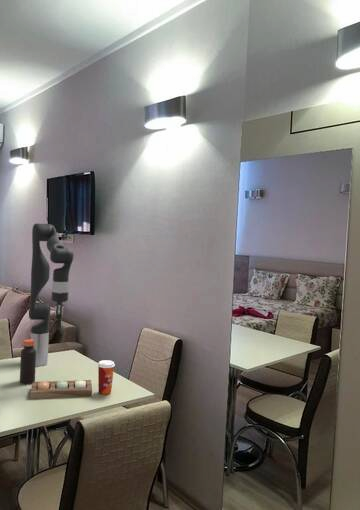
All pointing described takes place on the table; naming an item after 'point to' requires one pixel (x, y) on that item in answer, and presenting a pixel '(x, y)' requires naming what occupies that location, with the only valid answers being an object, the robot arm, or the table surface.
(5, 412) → the table surface
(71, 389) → the button board
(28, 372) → the bottle
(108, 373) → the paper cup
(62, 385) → the sage button
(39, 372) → the table surface
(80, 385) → the cream button
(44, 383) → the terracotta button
